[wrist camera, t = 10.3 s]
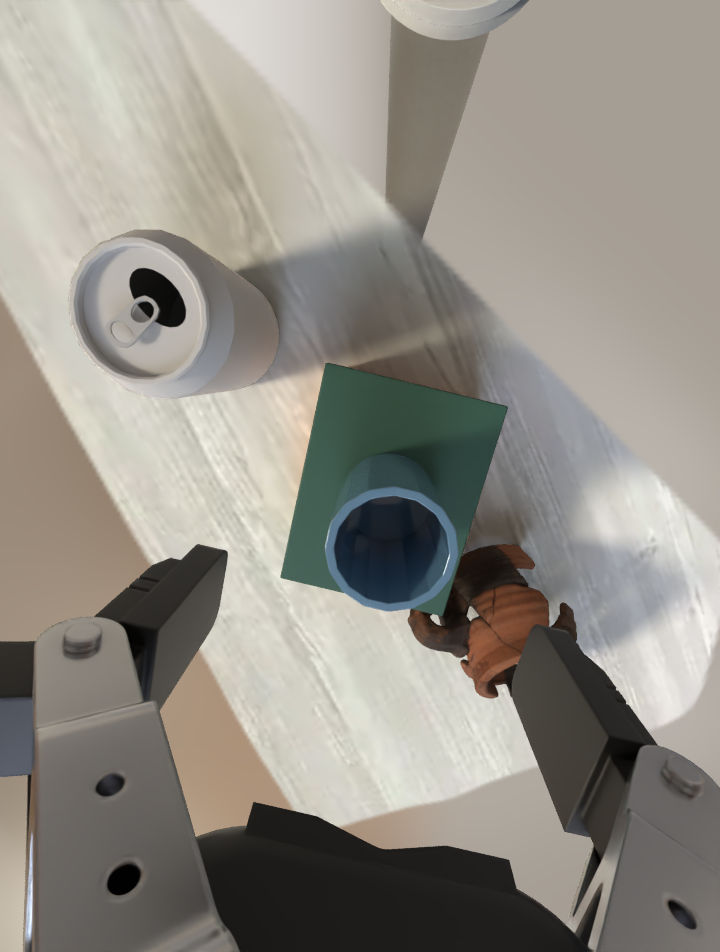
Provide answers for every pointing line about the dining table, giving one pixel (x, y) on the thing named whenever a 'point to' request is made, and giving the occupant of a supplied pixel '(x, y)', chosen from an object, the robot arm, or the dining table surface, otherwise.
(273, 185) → the dining table surface
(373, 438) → the container
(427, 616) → the brown jagged ring
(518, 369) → the dining table surface
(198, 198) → the dining table surface
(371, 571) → the cup
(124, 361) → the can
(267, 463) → the dining table surface
